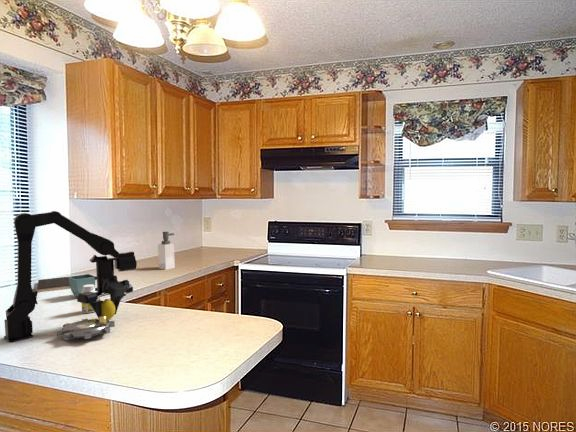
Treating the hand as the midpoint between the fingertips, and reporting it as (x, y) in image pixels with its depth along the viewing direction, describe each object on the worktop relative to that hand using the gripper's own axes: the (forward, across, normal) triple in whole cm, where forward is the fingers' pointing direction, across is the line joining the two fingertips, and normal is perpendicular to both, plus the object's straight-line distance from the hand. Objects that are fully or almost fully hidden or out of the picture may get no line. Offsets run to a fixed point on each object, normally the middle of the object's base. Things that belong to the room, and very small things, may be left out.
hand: (107, 316), depth 146 cm
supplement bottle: (+2, +4, +17) cm, 17 cm away
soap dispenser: (+2, +81, +58) cm, 100 cm away
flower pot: (+2, +16, +41) cm, 44 cm away
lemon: (+2, 0, 0) cm, 2 cm away
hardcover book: (+2, +23, +73) cm, 77 cm away
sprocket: (0, -12, -7) cm, 14 cm away
